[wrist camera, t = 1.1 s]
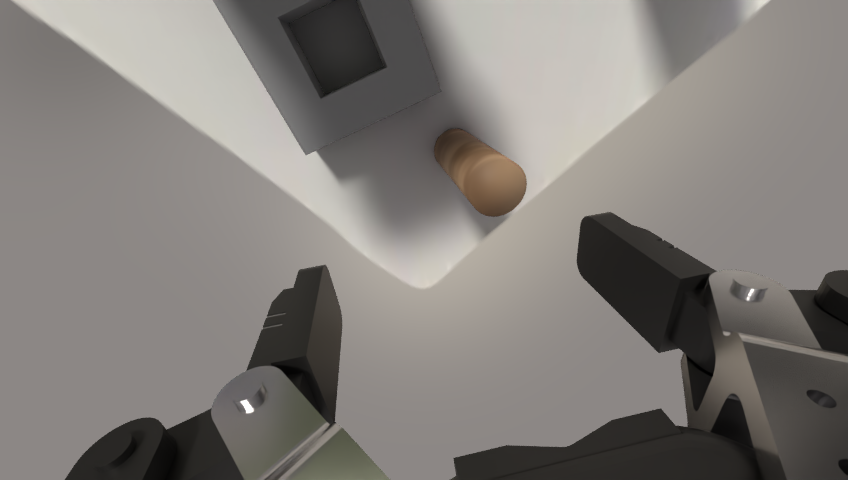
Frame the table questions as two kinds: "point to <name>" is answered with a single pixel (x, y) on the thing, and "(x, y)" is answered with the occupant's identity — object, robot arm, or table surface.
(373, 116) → the socket base
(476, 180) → the peg
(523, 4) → the table surface
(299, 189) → the table surface
